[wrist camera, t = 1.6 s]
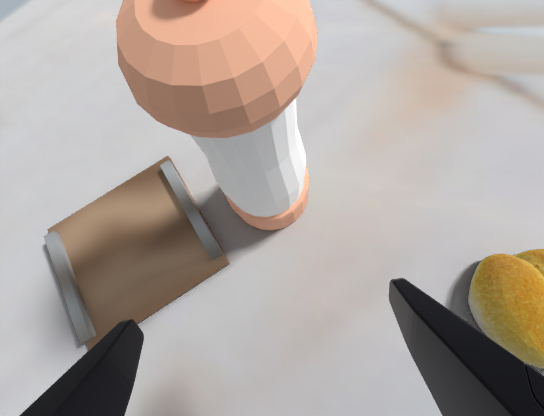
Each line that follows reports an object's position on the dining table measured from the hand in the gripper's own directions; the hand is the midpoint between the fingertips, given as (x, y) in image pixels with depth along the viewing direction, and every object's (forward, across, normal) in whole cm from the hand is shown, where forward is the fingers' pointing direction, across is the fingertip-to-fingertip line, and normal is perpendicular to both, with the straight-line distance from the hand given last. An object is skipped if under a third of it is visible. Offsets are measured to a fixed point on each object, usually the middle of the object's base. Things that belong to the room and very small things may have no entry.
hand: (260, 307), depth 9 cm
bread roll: (+8, -19, +13) cm, 24 cm away
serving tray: (+14, +14, +6) cm, 20 cm away
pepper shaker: (+16, 0, +4) cm, 17 cm away
